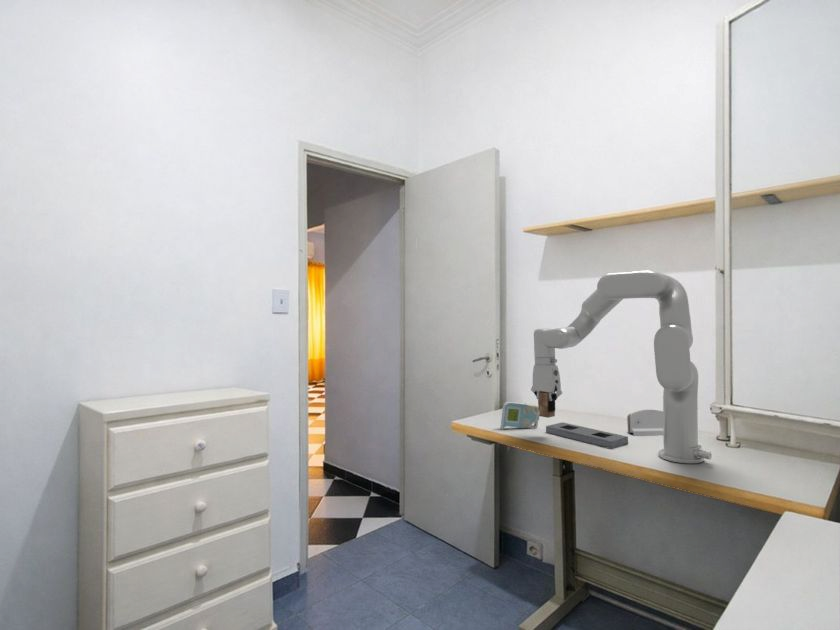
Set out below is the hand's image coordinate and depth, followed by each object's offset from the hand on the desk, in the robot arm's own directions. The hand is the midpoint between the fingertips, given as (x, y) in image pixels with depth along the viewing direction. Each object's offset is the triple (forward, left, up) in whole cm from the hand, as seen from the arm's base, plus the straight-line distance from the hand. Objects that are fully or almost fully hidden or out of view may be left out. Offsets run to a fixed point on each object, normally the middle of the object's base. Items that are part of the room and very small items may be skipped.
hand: (546, 409), depth 176 cm
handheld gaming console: (+15, -2, -10) cm, 19 cm away
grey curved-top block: (-20, -35, -10) cm, 42 cm away
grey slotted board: (-9, -10, -10) cm, 17 cm away
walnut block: (0, 0, -2) cm, 2 cm away
